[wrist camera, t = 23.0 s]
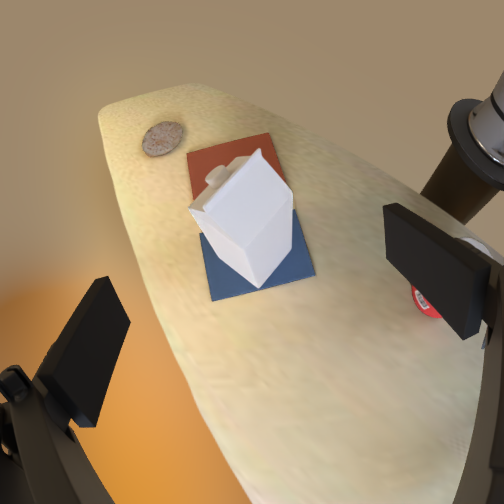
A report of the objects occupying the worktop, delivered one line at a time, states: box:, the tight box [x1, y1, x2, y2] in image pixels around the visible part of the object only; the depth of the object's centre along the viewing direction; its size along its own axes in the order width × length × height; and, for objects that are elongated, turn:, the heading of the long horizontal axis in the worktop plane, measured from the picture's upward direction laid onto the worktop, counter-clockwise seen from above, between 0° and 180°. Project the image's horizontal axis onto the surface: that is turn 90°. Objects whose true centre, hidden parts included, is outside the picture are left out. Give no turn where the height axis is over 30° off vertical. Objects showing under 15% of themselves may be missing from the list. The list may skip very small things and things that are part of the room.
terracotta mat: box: [187, 133, 287, 200], centre depth 48 cm, size 14×12×1 cm
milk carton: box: [188, 148, 293, 289], centre depth 34 cm, size 7×7×19 cm
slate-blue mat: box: [199, 209, 315, 301], centre depth 44 cm, size 14×10×1 cm
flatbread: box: [142, 122, 182, 156], centre depth 52 cm, size 8×8×1 cm
